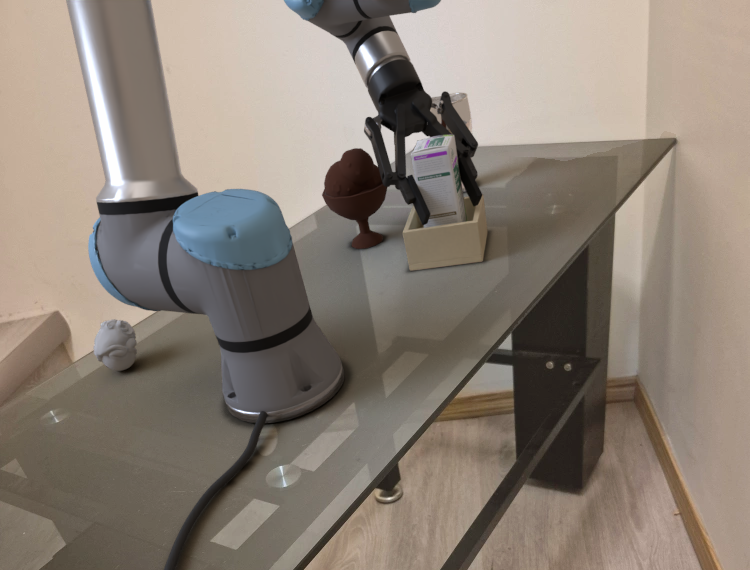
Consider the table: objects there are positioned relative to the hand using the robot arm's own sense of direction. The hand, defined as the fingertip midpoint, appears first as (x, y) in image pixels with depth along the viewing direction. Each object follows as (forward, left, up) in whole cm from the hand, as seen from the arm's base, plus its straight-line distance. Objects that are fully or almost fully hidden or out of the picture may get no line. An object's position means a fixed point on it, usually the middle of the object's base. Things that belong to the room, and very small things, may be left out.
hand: (452, 210), depth 108 cm
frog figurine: (-24, +47, -7) cm, 53 cm away
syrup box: (+3, +2, -6) cm, 7 cm away
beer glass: (+31, +3, -7) cm, 32 cm away
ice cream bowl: (+11, +17, -7) cm, 22 cm away
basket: (+3, +2, -7) cm, 8 cm away
